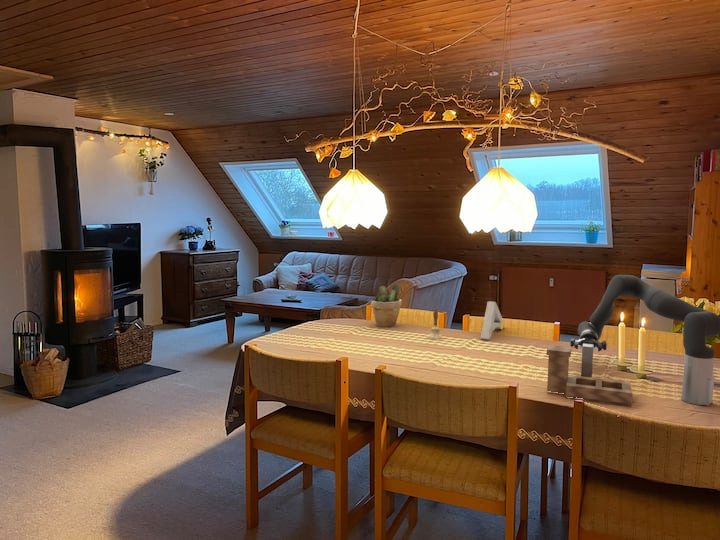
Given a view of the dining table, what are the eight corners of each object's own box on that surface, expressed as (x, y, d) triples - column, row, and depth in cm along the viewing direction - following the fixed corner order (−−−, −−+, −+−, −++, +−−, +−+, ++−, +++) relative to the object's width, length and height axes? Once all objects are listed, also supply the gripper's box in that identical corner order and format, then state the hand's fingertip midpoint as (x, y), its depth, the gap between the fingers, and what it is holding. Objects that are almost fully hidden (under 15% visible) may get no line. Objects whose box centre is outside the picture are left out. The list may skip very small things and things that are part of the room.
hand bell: (445, 339, 299) (445, 309, 298) (430, 339, 298) (431, 310, 296) (439, 335, 307) (440, 307, 306) (425, 336, 306) (426, 307, 304)
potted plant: (388, 330, 320) (388, 287, 318) (364, 325, 333) (364, 284, 330) (407, 325, 334) (407, 284, 331) (383, 320, 346) (383, 281, 344)
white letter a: (498, 359, 319) (488, 338, 295) (491, 358, 321) (480, 338, 297) (505, 324, 328) (495, 301, 304) (497, 323, 330) (487, 301, 306)
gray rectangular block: (591, 383, 225) (593, 344, 223) (591, 386, 220) (593, 347, 219) (581, 381, 227) (582, 343, 225) (580, 385, 222) (582, 346, 220)
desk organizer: (629, 394, 211) (632, 351, 209) (631, 406, 198) (634, 360, 196) (547, 384, 223) (549, 343, 221) (544, 395, 210) (546, 351, 208)
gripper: (572, 329, 249) (570, 337, 234) (606, 332, 243) (607, 340, 228) (571, 345, 250) (569, 354, 235) (605, 349, 244) (606, 358, 229)
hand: (588, 347), depth 232 cm, fingers open, 8 cm apart
